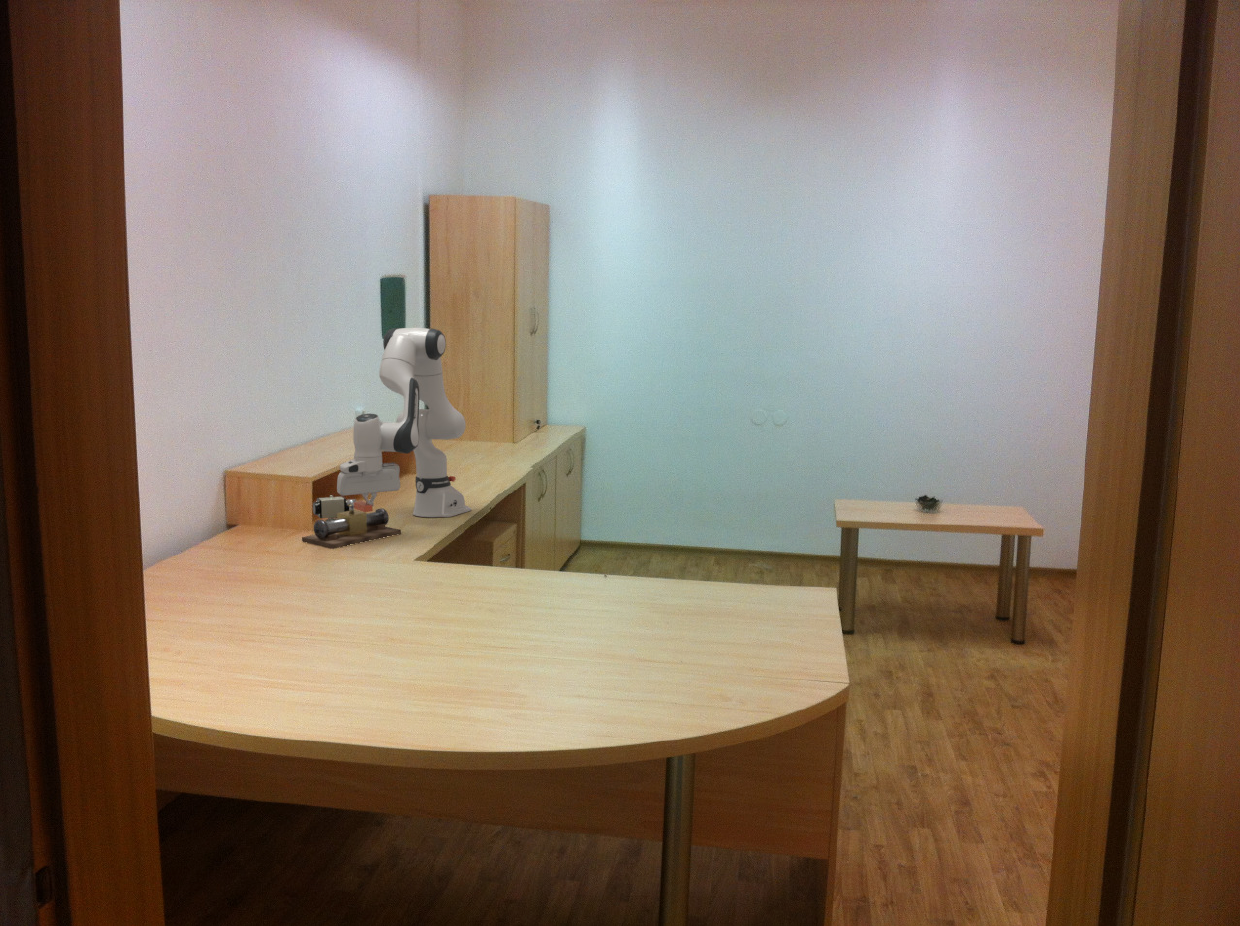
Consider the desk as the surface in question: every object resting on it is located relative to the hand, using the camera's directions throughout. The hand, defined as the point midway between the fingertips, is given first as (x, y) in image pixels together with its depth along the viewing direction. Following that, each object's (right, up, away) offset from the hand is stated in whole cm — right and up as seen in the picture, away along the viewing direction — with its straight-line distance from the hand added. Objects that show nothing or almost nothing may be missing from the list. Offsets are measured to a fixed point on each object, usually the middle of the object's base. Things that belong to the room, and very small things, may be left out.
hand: (369, 506), depth 336 cm
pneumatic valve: (-18, -9, +20) cm, 28 cm away
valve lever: (-4, -1, +1) cm, 4 cm away
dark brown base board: (-7, -11, +7) cm, 15 cm away
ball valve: (-7, -9, +7) cm, 14 cm away
